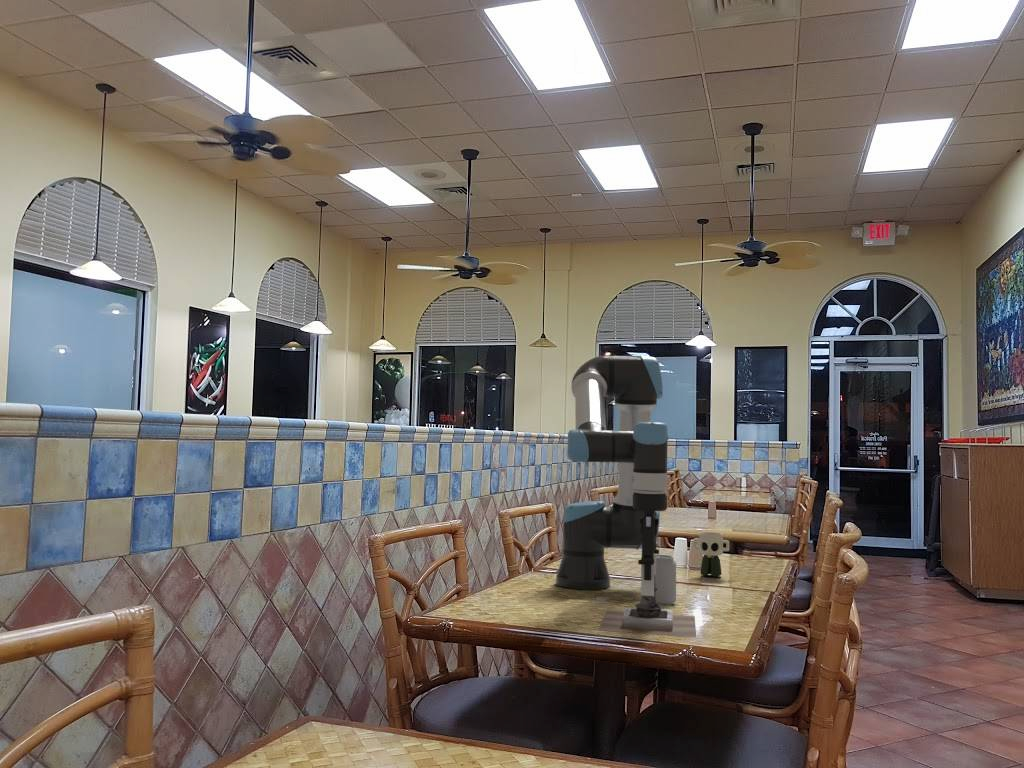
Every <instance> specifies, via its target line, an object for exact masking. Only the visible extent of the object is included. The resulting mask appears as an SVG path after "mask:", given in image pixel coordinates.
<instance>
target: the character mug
mask: <svg viewBox="0 0 1024 768" xmlns="http://www.w3.org/2000/svg"><path fill="white" fill-rule="evenodd" d="M698 536H699V537H695V538H693V539H692V548H693V549H694V550H698V551H699V553H700V554H701V555H703V556H702V559H701V565H700V575H702V576H706V577H708V576H709V575H710V576H711V577H715V578H716V577H721V576H722V566H721V565H722V564H721V558H719V556H721V555H723V553H724V552H729V551H730V541H729V540H727V539H724V534H723V533H721V532H712V531H710V532H709V531H702V532H699V535H698ZM697 542H699V543H698V544H699V545H697ZM724 544H725V546H726V547H724Z"/></svg>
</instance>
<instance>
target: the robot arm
mask: <svg viewBox="0 0 1024 768" xmlns="http://www.w3.org/2000/svg"><path fill="white" fill-rule="evenodd" d="M661 371H662V370H661V365H660V362H659V360H658V359H657V358H656V357H654V356H646V355H598V356H595V357H592V358H591V359H589V360H587V361H585V362H584V363H583V364H582V365H580V367H579V368H578V369H577V370H576V371H575V373H574V375H573V377H572V380H571V394H572V395H573V397H574V398H575V399H574V400H575V401H574V402H575V405H574V406H575V410H574V411H575V413H574V414H575V419H574V420H575V429H571V430H569V431H568V432H567V458H568V460H569V461H572V462H582V463H618V486H617V487H618V491H617V492H618V494H617V495H616V496H615V497H614V498H613V499H612V505H611V506H610V505H606V502H605V501H604V500H588V501H586V500H585V501H580V502H574V503H573V502H572V503H570V504H567V505H566V506H565V507H564V510H563V517H562V518H563V520H562V523H563V530H562V531H563V532H562V558H561V561H560V563H559V567H558V570H557V573H556V577H555V584H556V586H559V587H562V588H566V589H573V590H602V589H607V588H609V587H610V585H611V578H610V573H609V571H608V566H607V563H606V561H605V549H627V550H628V549H631V550H632V549H634V550H641V558H640V559H638V560H637V561H638V562H637V563H638V565H640V567H641V568H640V569H641V570H640V572H641V573H640V575H641V576H640V579H641V580H640V588H641V589H640V596H642V595H645V596H654V574H655V576H656V555H660V549H657V538H658V534H659V528H660V518H661V517H660V516H661V515H660V514H661V513H660V512H664V511H667V509H668V495H667V493H665V492H667V490H668V442H669V441H668V440H669V436H668V425H667V424H666V423H664V422H652V410H653V409H654V408H655V407H656V406H658V405H657V402H658V401H657V399H661V398H662V397H663V378H662V373H661ZM605 398H614V405H615V406H616V407H617V408H618V409H619V430H613V429H612V430H611V429H609V430H608V429H607V423H606V408H605V404H606V403H605Z"/></svg>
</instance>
